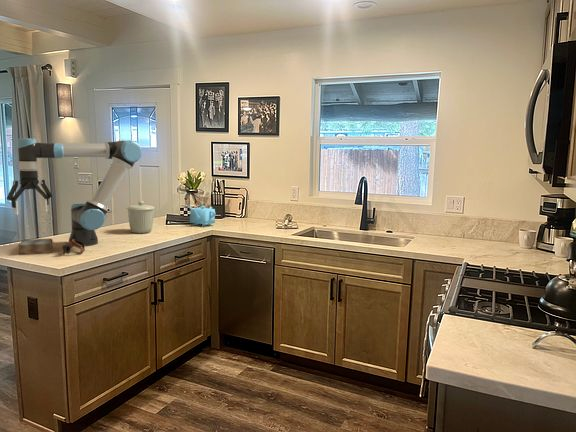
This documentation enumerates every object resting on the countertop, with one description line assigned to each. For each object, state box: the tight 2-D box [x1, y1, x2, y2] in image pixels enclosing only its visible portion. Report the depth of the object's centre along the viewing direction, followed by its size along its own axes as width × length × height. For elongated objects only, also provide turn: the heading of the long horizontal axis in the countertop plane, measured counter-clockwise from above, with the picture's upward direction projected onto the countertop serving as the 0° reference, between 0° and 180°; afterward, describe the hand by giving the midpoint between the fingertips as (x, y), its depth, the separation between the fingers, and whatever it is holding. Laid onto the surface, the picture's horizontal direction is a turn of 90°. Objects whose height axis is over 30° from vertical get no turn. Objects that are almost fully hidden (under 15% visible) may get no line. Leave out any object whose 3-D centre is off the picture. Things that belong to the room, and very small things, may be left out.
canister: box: [126, 200, 156, 234], centre depth 280 cm, size 18×18×21 cm
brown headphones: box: [61, 239, 86, 255], centre depth 215 cm, size 12×10×8 cm
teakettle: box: [188, 205, 217, 227], centre depth 318 cm, size 19×19×15 cm
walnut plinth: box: [18, 238, 54, 256], centre depth 218 cm, size 14×14×5 cm
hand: (31, 213), depth 209 cm, fingers open, 13 cm apart
